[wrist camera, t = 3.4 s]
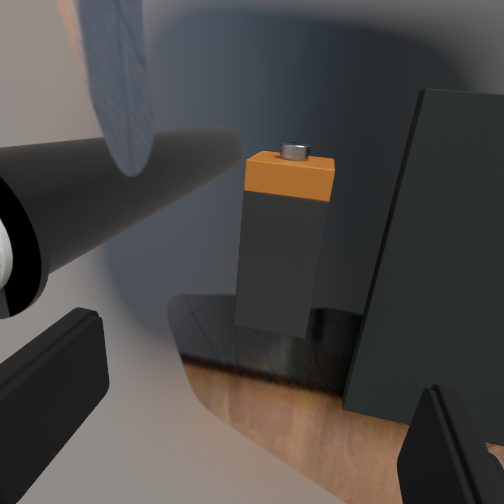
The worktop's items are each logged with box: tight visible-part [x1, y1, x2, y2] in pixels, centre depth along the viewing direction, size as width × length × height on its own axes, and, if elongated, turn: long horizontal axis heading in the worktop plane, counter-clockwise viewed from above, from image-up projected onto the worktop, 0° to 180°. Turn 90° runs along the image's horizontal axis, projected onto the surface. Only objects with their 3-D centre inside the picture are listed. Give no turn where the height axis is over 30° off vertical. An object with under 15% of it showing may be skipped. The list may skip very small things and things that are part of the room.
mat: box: [342, 89, 504, 446], centre depth 21 cm, size 12×22×1 cm, turn 174°
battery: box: [234, 142, 335, 339], centre depth 20 cm, size 4×11×4 cm, turn 174°
